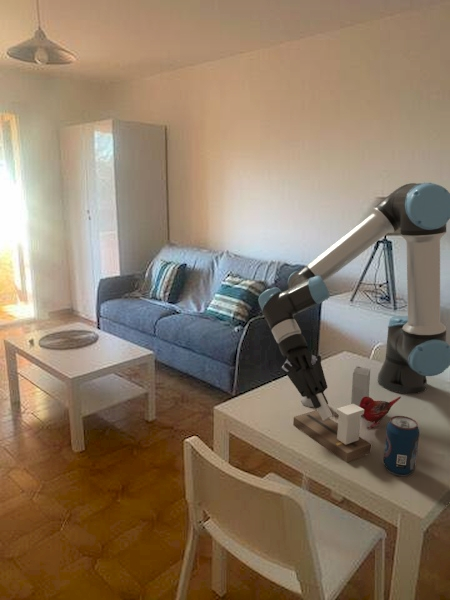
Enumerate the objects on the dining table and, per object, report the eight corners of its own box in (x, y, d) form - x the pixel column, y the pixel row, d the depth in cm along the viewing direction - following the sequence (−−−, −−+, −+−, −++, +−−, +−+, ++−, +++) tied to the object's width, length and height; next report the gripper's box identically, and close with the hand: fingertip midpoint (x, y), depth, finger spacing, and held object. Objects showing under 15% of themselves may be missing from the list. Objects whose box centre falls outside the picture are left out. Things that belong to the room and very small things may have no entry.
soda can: (382, 457, 110) (386, 412, 107) (413, 463, 108) (418, 416, 106) (383, 474, 104) (388, 426, 101) (416, 480, 102) (422, 431, 99)
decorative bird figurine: (352, 431, 122) (355, 397, 120) (394, 414, 132) (398, 382, 129) (360, 436, 120) (363, 401, 117) (403, 418, 129) (406, 385, 127)
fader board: (293, 425, 125) (293, 416, 124) (315, 418, 129) (316, 409, 128) (346, 462, 108) (347, 452, 108) (370, 453, 112) (371, 443, 112)
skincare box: (365, 415, 131) (369, 375, 128) (349, 412, 133) (352, 373, 130) (368, 406, 136) (372, 368, 133) (353, 403, 138) (356, 365, 135)
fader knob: (334, 439, 113) (336, 408, 111) (350, 433, 116) (353, 403, 114) (344, 446, 110) (347, 414, 108) (361, 439, 113) (364, 409, 111)
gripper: (301, 341, 134) (338, 417, 125) (265, 348, 128) (301, 429, 118) (314, 329, 129) (354, 407, 119) (277, 336, 122) (316, 419, 112)
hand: (327, 418), depth 119 cm, fingers closed
